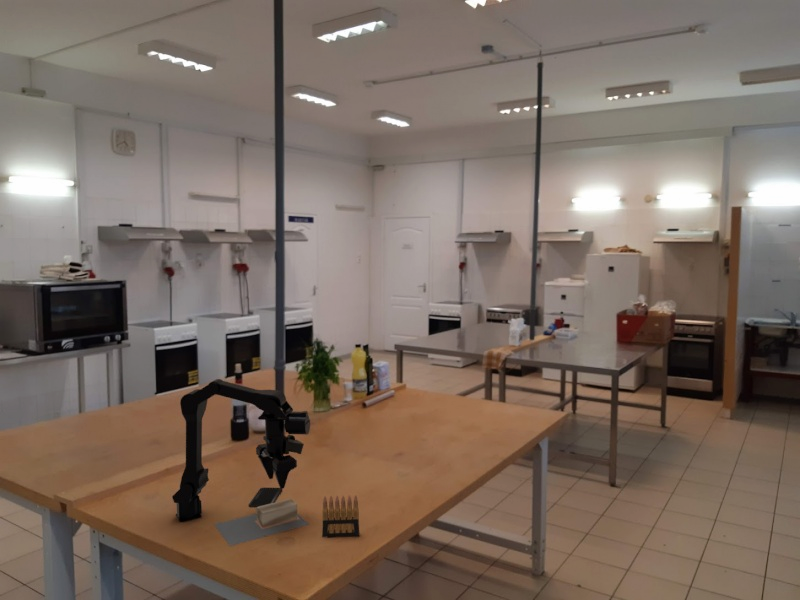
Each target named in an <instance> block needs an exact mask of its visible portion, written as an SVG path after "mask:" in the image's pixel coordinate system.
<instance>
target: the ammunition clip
mask: <svg viewBox="0 0 800 600" xmlns="http://www.w3.org/2000/svg"><path fill="white" fill-rule="evenodd" d="M322 500H323V501H322V517H321V518H322V530H321V531H322V532H321V534H322V535H321V537H323V538H324V537H326V538H328V539H330V538H351V537H352V538H354V537H355V538H356V537H358V538H359V537H360V516H359V513H360V512H359V499H358V496H357V495H356V494H354V498H353V503H352V497H351V495H349V494H348V498H347V503H346V498H345V496H344V495H342V497H341V503H340V499H339V496H338V495H336V497H335V500H334V499H333V496H332V495H330V497H329V499H327V496H326V495H325V496H324V497H323V499H322ZM328 501H329V502H328ZM334 501H335V503H334ZM334 504H335V505H334ZM340 504H341V505H340ZM346 504H347V506H346Z"/></svg>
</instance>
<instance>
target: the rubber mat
mask: <svg viewBox="0 0 800 600" xmlns="http://www.w3.org/2000/svg"><path fill="white" fill-rule="evenodd" d="M213 525H214V526H215V528H216V529H217V531H218V532H219V534H220V535H221V537H223V539H224V540H225V541H226V543H227V544H228V545H229V547H231V546H236V545H239V544H243V543H247V542H250V541H253V540H257V539H261V538H265V537H269V536H272V535H276V534H280V533H283V532H287V531H290V530H293V529H298V528H301V527H305V526H308V525H310V524H309V523H308V521H306V520H305V519H304V518H303V517H302V516H301V515H300V514H299V513H297V519H294V520H290V521H286V522H282V523H279V524H275V525H271V526H267V527H262V526H261V525H260V524H259V523H258V522H257V513H253V514H250V515H245V516H241V517H238V518H233V519H229V520H225V521H222V522H217V523H214V524H213Z"/></svg>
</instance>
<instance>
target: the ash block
mask: <svg viewBox="0 0 800 600" xmlns="http://www.w3.org/2000/svg"><path fill="white" fill-rule="evenodd" d="M256 514H257V522H258V523H259V524H260V525H261V526H262V527H267V526H271V525H275V524H279V523H282V522H286V521H290V520H294V519H297V514H298V504H297V503H296V502H295V501H294V500H293V499H292V498H289V499H283V500H279V501H275V503H271V504H267V505H263V506H259V507H256Z"/></svg>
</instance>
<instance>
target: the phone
mask: <svg viewBox="0 0 800 600" xmlns="http://www.w3.org/2000/svg"><path fill="white" fill-rule="evenodd" d="M282 493H283V489H280V487H260V488H259V489H258V491H257V492H256V493H255V494H254V497H252V499H251V500H250V502H249V503H248V507H249V508H257V507H259V506H263V505H267V504H271V503H275V502H277V500H278V498H279V497H280V496H281V495H282Z"/></svg>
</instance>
